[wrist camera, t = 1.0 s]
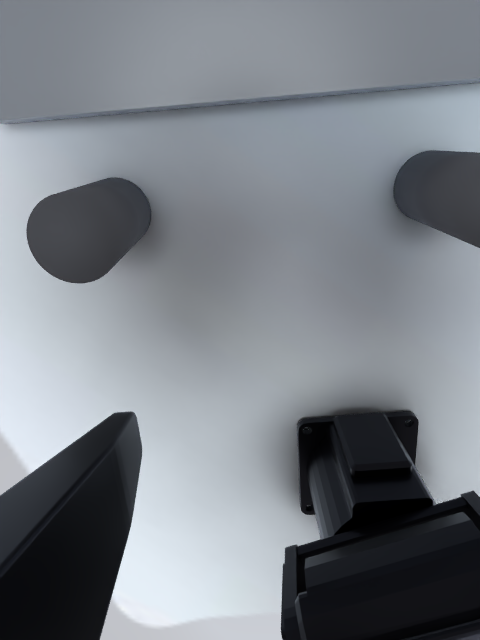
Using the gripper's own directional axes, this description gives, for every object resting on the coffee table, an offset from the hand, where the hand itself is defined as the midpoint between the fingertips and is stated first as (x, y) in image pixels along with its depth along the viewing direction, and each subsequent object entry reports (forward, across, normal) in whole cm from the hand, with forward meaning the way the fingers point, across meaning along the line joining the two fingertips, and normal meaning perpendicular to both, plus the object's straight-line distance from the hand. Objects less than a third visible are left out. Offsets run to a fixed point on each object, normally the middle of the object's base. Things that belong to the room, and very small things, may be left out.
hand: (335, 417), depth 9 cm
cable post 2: (+13, -7, -3) cm, 15 cm away
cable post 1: (+13, +7, -3) cm, 15 cm away
